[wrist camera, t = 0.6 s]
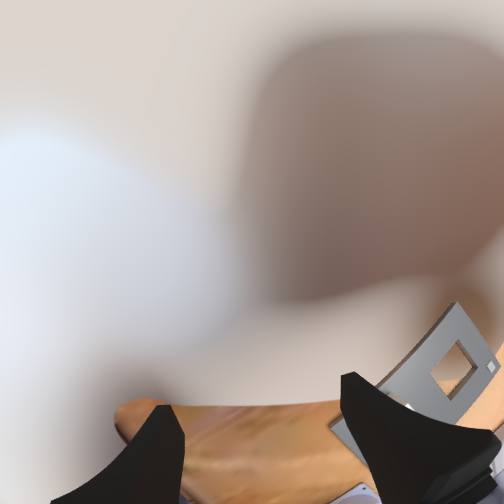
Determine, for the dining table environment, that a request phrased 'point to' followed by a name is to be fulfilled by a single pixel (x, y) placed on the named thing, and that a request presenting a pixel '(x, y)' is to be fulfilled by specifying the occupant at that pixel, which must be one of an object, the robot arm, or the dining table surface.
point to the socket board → (422, 383)
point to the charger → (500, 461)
